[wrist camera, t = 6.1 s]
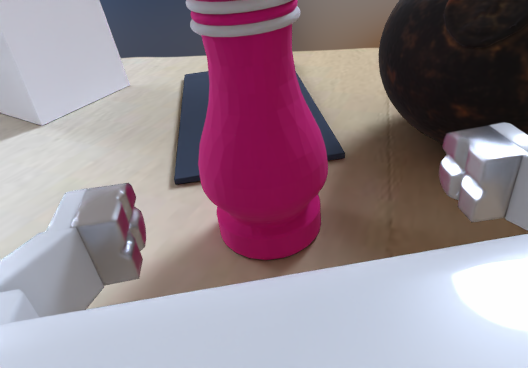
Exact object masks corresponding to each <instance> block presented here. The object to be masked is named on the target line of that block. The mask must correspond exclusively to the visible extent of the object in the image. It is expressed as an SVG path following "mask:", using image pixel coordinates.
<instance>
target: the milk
mask: <svg viewBox="0 0 528 368" xmlns="http://www.w3.org/2000/svg"><path fill="white" fill-rule="evenodd" d="M129 85H130V83H129V80H128V77H127V75H126V72H125V69H124V66H123V64H122V61H121V58H120V56H119V53H118V50H117V47H116V45H115V42H114V39H113V36H112V34H111V31H110V28H109V26H108V23H107V20H106V17H105V15H104V12H103V9H102V6H101V4H100V1H99V0H0V113H3V114H6V115H9V116H12V117H16V118H19V119H22V120H25V121H29V122H32V123H35V124H38V125H45V124H47V123H49V122H51V121H53V120H55V119H58V118H60V117H62V116H64V115H66V114H68V113H71V112H73V111H75V110H77V109H79V108H81V107H84V106H86V105H88V104H90V103H92V102H94V101H97V100H99V99H101V98H103V97H105V96H107V95H110V94H112V93H114V92H116V91H118V90H120V89H123V88H125V87H127V86H129Z"/></svg>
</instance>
